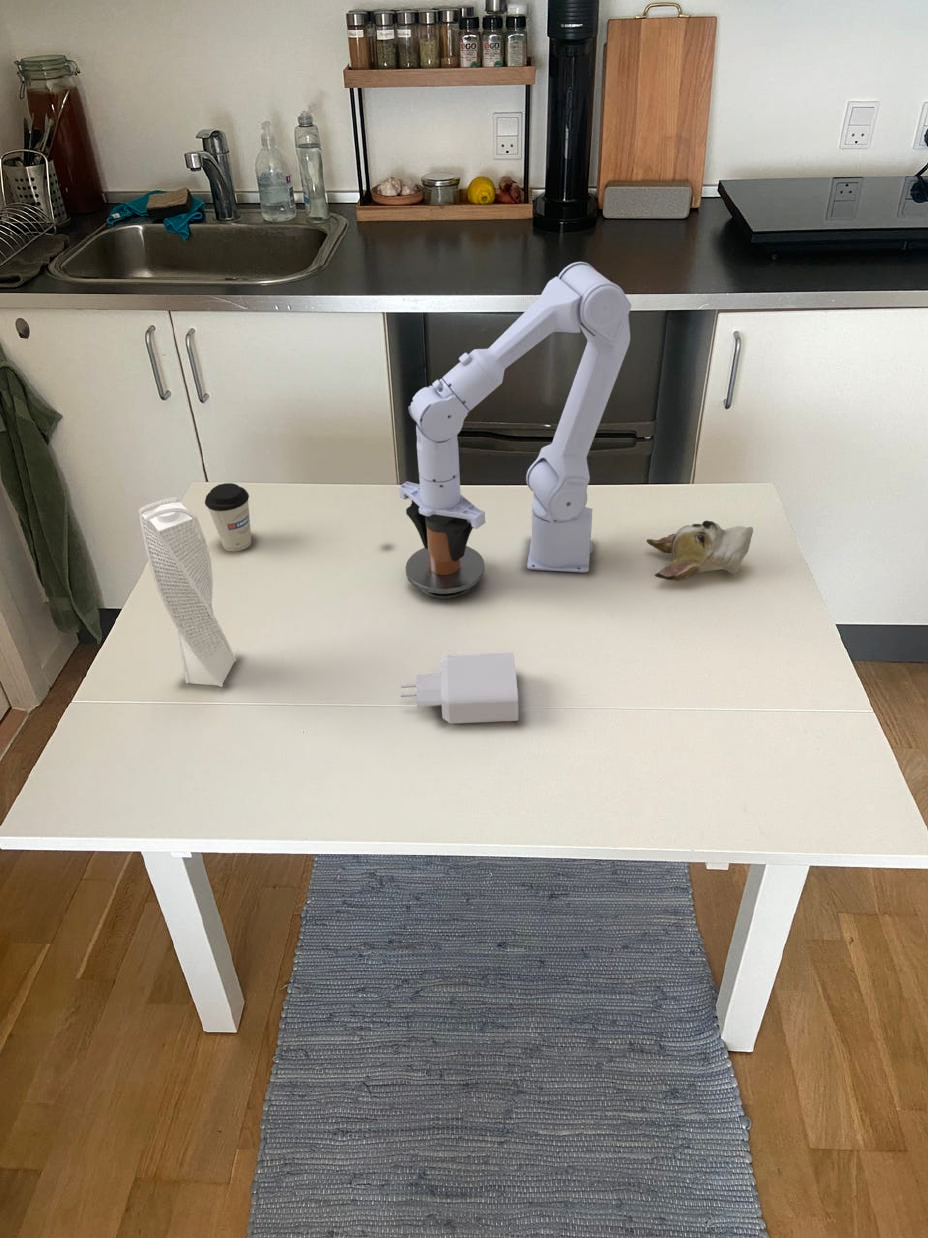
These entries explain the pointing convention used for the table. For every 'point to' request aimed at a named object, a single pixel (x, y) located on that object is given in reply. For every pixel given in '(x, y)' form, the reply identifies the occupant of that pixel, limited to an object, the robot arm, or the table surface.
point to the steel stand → (445, 584)
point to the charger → (471, 688)
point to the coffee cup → (230, 515)
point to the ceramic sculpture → (703, 549)
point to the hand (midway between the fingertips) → (444, 551)
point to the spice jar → (439, 546)
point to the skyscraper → (186, 589)
